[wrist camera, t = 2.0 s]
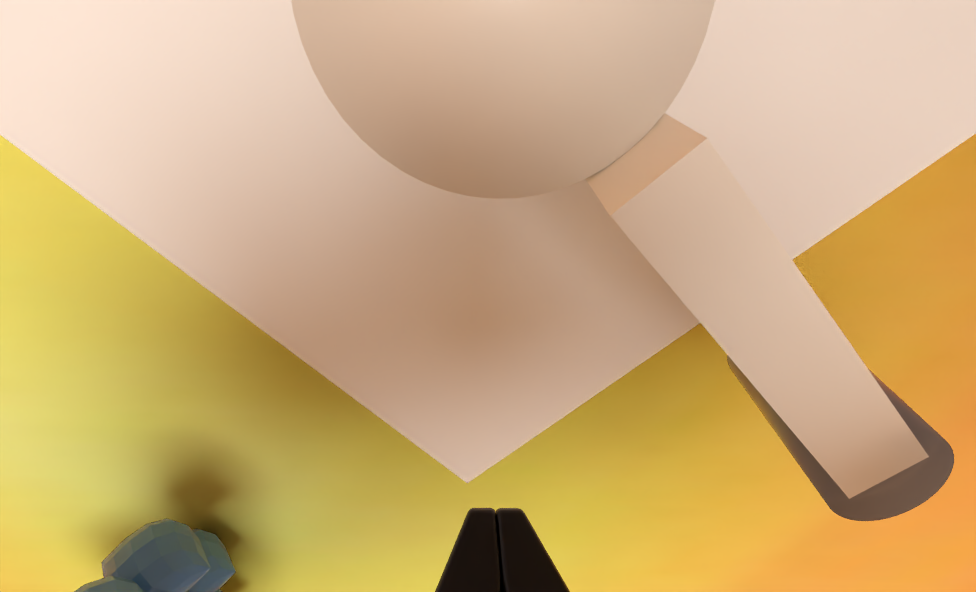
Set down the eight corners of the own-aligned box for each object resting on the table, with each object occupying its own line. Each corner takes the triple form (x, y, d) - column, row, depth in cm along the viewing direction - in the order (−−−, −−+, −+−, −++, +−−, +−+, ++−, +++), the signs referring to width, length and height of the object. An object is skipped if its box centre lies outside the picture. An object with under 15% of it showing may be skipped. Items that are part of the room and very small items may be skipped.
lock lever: (264, -20, 10) (138, -29, 6) (511, -326, 8) (552, -611, 4) (699, 432, 16) (777, 577, 12) (900, 308, 14) (1070, 429, 10)
